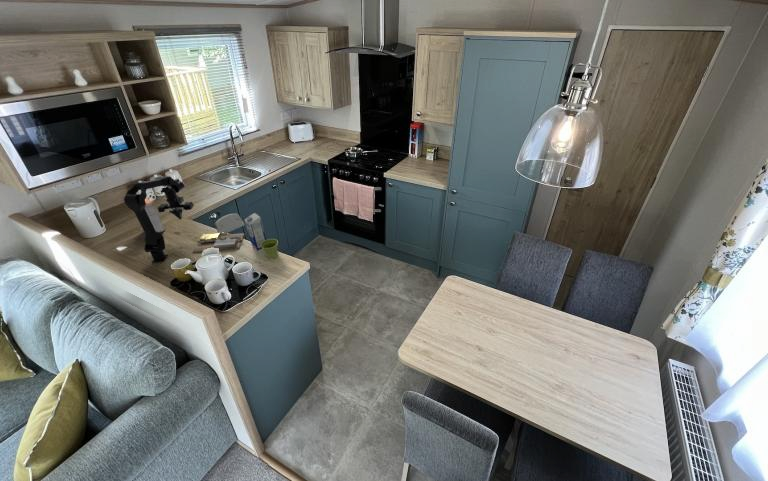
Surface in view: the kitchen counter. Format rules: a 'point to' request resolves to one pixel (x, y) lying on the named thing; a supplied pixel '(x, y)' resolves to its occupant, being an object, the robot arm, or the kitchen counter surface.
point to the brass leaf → (210, 236)
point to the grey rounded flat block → (228, 223)
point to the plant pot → (270, 248)
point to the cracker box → (154, 216)
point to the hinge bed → (211, 244)
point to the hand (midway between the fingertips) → (180, 219)
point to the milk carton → (255, 230)
